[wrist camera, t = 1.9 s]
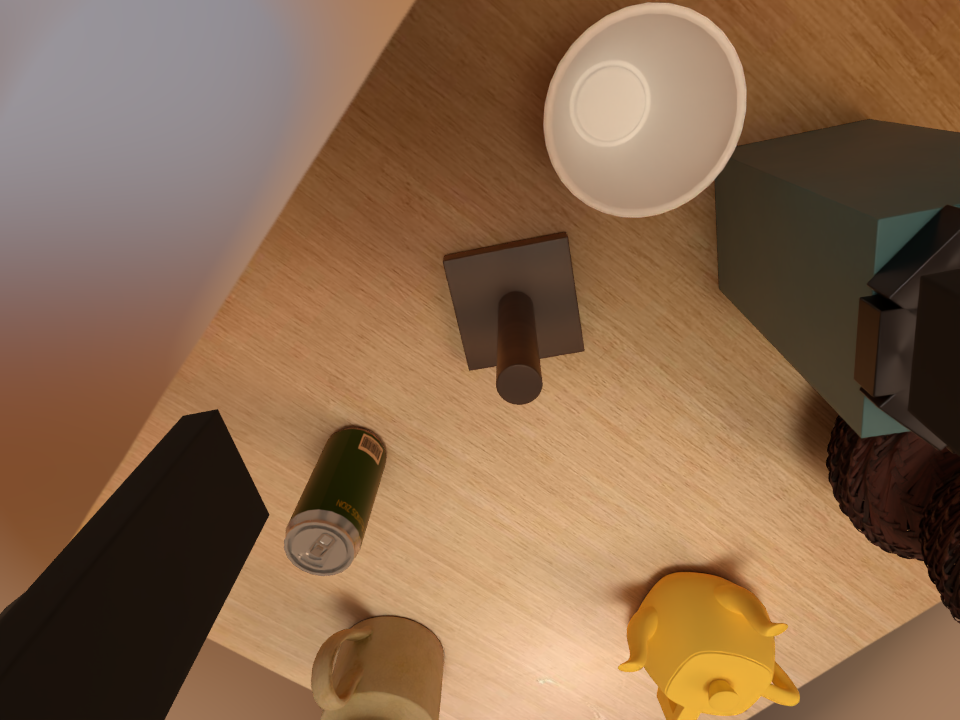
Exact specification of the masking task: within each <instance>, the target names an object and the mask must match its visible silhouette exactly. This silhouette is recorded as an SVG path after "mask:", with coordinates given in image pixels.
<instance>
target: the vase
mask: <svg viewBox="0 0 960 720" xmlns="http://www.w3.org/2000/svg"><path fill="white" fill-rule="evenodd" d="M838 417H839V418H838ZM838 417H837V418H838V419H837V418H836V421H835V426H834V427H833V429H832V432H831V440H830V442H829V444H828V448H827V452H828V451H829V452H828V457H827V460H826V466H827V468H828V467H829V468H828V470H829V482H830V484H831V485H832V488H833V494H834V497H835V499H836V500H837V501H838V502H839V503H840V504H839V507H840V509H841V511H842V512H843V513H844V514H845V515H846V516H848V517H849V519H850V521H851V522H852V523H853V525H854V527H855V528H856V529H857V528H858V529H860V530H861V531H860V532H861V533H863V534H865V537H866V538H867V539H868V540H869V541H870V542H871V543H872V544H874V545H876V546H879V547H880V548H881V549H882V550H884V551H886V552H888V553H894V554H897V555H898V556H899V557H902V558H906V559H917V560H920V561H924V563H925V565H926V567H927V568H928V574H929V577H930V579H931V581H932V582H933V583H934V584H936V588H937V590H938V591H939V593H940V594H941V596H940V597H941V600H942V602H943V604H944V605H945V606H946V607H947V606H948V607H947V608H948V609H949V610H950V612H951V614H952V616H953V618H954V617H956V618H958V619H960V456H958V455H957V454H954V453H952V452H951V451H950V450H948V449H947V448H946V447H945V448H944V449H943V450H941V451H939V450H937V449H935V448H934V447H933V446H931V445H930V444H928V443H927V442H926V441H924V440H923V439H921V438H920V437H919V436H917V435H916V434H914V433H913V432H911V431H908V432H901V433H894V434H887V435H880V436H873V437H866V438H861V437H860V436H859V435H858V434H857V433H856V432H855V431H854V430H853V429H852V428H851V427H850V426H849V425H848V424H847V423H846V421H845V420H844V419H843V418H842V417H841V416H840V415H839V416H838ZM886 436H888V437H887V438H886ZM888 444H889V445H888ZM886 445H888V446H886ZM885 446H886V447H885ZM858 529H857V530H858ZM907 530H908V531H907ZM858 531H859V530H858ZM889 551H890V552H889ZM909 557H911V558H909ZM927 565H928V566H927ZM934 581H935V582H934ZM954 619H955V618H954ZM955 620H956V619H955ZM956 621H957V620H956ZM957 622H958V623H960V621H957Z"/></svg>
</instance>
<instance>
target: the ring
mask: <svg viewBox="0 0 960 720" xmlns="http://www.w3.org/2000/svg"><path fill="white" fill-rule="evenodd" d="M955 269H960V208H958V207H955V206H952V205H948V204H947V205H945V206H944V207H943V208H942V209H941V210H940V211H939V212H938V213H937V214H936V215H935V216H934V217H933V218H932V219H931V220H930V221H929V222H928V223H927V224H926V225H925V226H924V227H923V228H922V229H921V230H920V231H919V232H918V233H917V234H916V235H915V236H914V237H913V238H912V239H911V240H910V241H909V242H908V243H907V244H906V245H905V246H904V247H903V248H902V249H901V250H900V251H899V252H898V253H897V254H896V255H895V256H894V257H893V258H892V259H891V260H890V261H889V262H888V263H887V264H886V265H885V266H884V267H883V268H882V269H881V270H880V271H879V272H878V273H877V274H876V275H875V276H874V277H873V278H872V279H871V280H870V281H869V282H868V283H867V286H868V287H870V288H871V289H872V290H873V291H875V292H876V293H877V295H871V296H865V297H860V298H859V309H858V323H857V337H856V352H855V366H854V380H855V381H856V382H857V383H858V384H859V385H860V386H861V387H860V388H859V390H860V392H861V393H862V394H864V395H865V396H866V397H867V398H868V399H869V400H870V401H871V402H872V403H873V404H874V405H875V406H877V407H878V408H879V409H880V410H882V411H883V412H885V413H886V414H887V415H889V416H890V417H892V418H893V419H894V420H896V421H897V422H899V423H900V424H902V425H903V426H904V427H906V428H907V429H909V430H910V431H911V432H913V433H914V434H916V435H917V436H919V437H920V438H921V439H923V440H924V441H926V442H927V443H928V444H930V445H931V446H933V447H934V448H935V449H937V450H939V451H941V450H943V449H944V448H945V447H946V448H947V449H948V450H950V451H951V452H952V453H954V454H956V453H955V452H954V451H953V450H952V449H950V448H949V447H948V446H947V445H946V444H945V443H944V442H942V441H941V440H940V439H939V438H938V437H937V436H936V435H934V434H933V433H932V432H931V431H930V430H929V429H928V428H926V427H925V426H924V425H923V424H922V423H921V422H920V421H918V420H917V419H916V418H915V417H914V416H913V415H912V414H910V413H909V412H908V400H909V390H910V380H911V370H912V359H913V349H914V339H915V329H916V318H917V308H918V298H919V288H920V277H921V276H923V275H929V274H934V273H939V272H944V271H950V270H955Z"/></svg>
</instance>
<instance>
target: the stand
mask: <svg viewBox="0 0 960 720" xmlns="http://www.w3.org/2000/svg"><path fill="white" fill-rule="evenodd" d="M715 201H716V226H717V252H718V278H719V290H720V291H721V292H722V293H723V294H724V295H725V296H726V297H727V298H728V299H729V300H730V301H731V302H732V303H733V304H734V305H735V306H736V307H737V308H738V309H739V310H740V312H741V313H742V314H743V315H744V316H745V317H746V318H747V319H748V320H749V321H750V322H751V323H752V324H753V325H754V326H755V327H756V328H757V329H758V330H759V331H760V332H761V333H762V335H763V336H764V337H765V338H766V339H767V340H768V341H769V342H770V343H771V344H772V345H773V346H774V347H775V348H776V349H777V350H778V351H779V352H780V353H781V354H782V355H783V357H784V358H785V359H786V360H787V361H788V362H789V363H790V364H791V365H792V366H793V367H794V368H795V369H796V370H797V371H798V372H799V373H800V374H801V375H802V376H803V377H804V379H805V380H806V381H807V382H808V383H809V384H810V385H811V386H812V387H813V388H814V389H815V390H816V391H817V392H818V393H819V394H820V395H821V396H822V397H823V398H824V399H825V401H826V402H827V403H828V404H829V405H830V406H831V407H832V408H833V409H834V410H835V411H836V412H837V413H838V414H839V415H840V416H841V417H842V418H843V419H844V420H845V421H846V423H847V424H848V425H849V426H850V427H851V428H852V429H853V430H854V431H855V432H856V433H857V434H858V435H859V436H860V437H861V438H866V437H873V436H880V435H887V434H894V433H901V432H908V431H910V430H909V429H907V428H906V427H904V426H903V425H902V424H900V423H899V422H897V421H896V420H894V419H893V418H892V417H890V416H889V415H887V414H886V413H885V412H883V411H882V410H880V409H879V408H878V407H877V406H875V405H874V404H873V403H872V402H871V401H870V400H869V399H868V398H867V397H866V396H865V395H864V394H862V393H861V392H860V390H859V388H860V387H861V386H860V385H859V384H858V383H857V382H856V381H855V380H854V366H855V352H856V337H857V323H858V309H859V298H860V297H865V296H871V295H877V293H876V292H875V291H873V290H872V289H871V288H870V287H868V286H867V283H868V282H869V281H870V280H871V279H872V278H873V277H874V276H875V275H876V274H877V273H878V272H879V271H880V270H881V269H882V268H883V267H884V266H885V265H886V264H887V263H888V262H889V261H890V260H891V259H892V258H893V257H894V256H895V255H896V254H897V253H898V252H899V251H900V250H901V249H902V248H903V247H904V246H905V245H906V244H907V243H908V242H909V241H910V240H911V239H912V238H913V237H914V236H915V235H916V234H917V233H918V232H919V231H920V230H921V229H922V228H923V227H924V226H925V225H926V224H927V223H928V222H929V221H930V220H931V219H932V218H933V217H934V216H935V215H936V214H937V213H938V212H939V211H940V210H941V209H942V208H943V207H944V206H945V205H947V204H948V205H952V206H955V207H958V208H960V133H959V132H952V131H945V130H939V129H932V128H925V127H919V126H912V125H905V124H899V123H892V122H885V121H879V120H872V119H868V120H863V121H858V122H853V123H848V124H843V125H839V126H834V127H829V128H824V129H819V130H814V131H809V132H804V133H800V134H795V135H790V136H785V137H780V138H775V139H770V140H765V141H760V142H756V143H751V144H746V145H741V146H736V148H735V150H734V152H733V154H732V155H731V157H730V159H729V160H728V162H727V164H726V165H725V167H724V169H723V170H722V171H721V172H720V174H719V175H718V176H717V177H716V178H715Z"/></svg>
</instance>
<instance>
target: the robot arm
mask: <svg viewBox="0 0 960 720" xmlns="http://www.w3.org/2000/svg"><path fill="white" fill-rule="evenodd" d="M908 412H909V413H910V414H912V415H913V416H914V417H915V418H916V419H917V420H918V421H920V422H921V423H922V424H923V425H924V426H925V427H926V428H928V429H929V430H930V431H931V432H932V433H933V434H934V435H936V436H937V437H938V438H939V439H940V440H941V441H942V442H944V443H945V444H946V445H947V446H948V447H949V448H950V449H952V450H953V451H954V452H955V453H956V454H957V455H958V456H960V269H955V270H950V271H944V272H939V273H934V274H929V275H923V276H921V277H920V288H919V298H918V308H917V318H916V329H915V339H914V349H913V359H912V370H911V380H910V390H909V400H908ZM268 516H269V513H268V511H267V509H266V507H265V505H264V503H263V501H262V499H261V497H260V495H259V493H258V490H257V488H256V486H255V484H254V482H253V480H252V478H251V476H250V474H249V472H248V470H247V468H246V466H245V464H244V462H243V460H242V458H241V456H240V454H239V452H238V450H237V448H236V446H235V443H234V441H233V439H232V437H231V435H230V433H229V431H228V429H227V427H226V425H225V423H224V421H223V419H222V417H221V415H220V413H219V411H218V409H217V410H211V411H206V412H201V413H196V414H190V415H185V416H182V417H181V419H180V420H179V421H178V422H177V423H176V424H175V425H174V426H173V428H172V429H171V430H170V431H169V432H168V433H167V434H166V435H165V436H164V438H163V439H162V440H161V441H160V442H159V443H158V444H157V445H156V447H155V448H154V449H153V450H152V451H151V452H150V453H149V454H148V455H147V457H146V458H145V459H144V460H143V461H142V462H141V463H140V464H139V466H138V467H137V468H136V469H135V470H134V471H133V472H132V473H131V475H130V476H129V477H128V478H127V479H126V480H125V481H124V482H123V483H122V485H121V486H120V487H119V488H118V489H117V490H116V491H115V492H114V494H113V495H112V496H111V497H110V498H109V499H108V500H107V501H106V502H105V504H104V505H103V506H102V507H101V508H100V509H99V510H98V511H97V513H96V514H95V515H94V516H93V517H92V518H91V519H90V520H89V521H88V523H87V524H86V525H85V526H84V527H83V528H82V529H81V530H80V532H79V533H78V534H77V535H76V536H75V537H74V538H73V539H72V540H71V542H70V543H69V544H68V545H67V546H66V547H65V548H64V549H63V551H62V552H61V553H60V554H59V555H58V556H57V557H56V558H55V559H54V561H53V562H52V563H51V564H50V565H49V566H48V567H47V568H46V570H45V571H44V572H43V573H42V574H41V575H40V576H39V577H38V578H37V580H36V581H35V582H34V583H33V584H32V585H31V586H30V587H29V589H28V590H27V591H26V592H25V593H24V594H22V595H21V596H20V597H18V598H17V599H16V600H15V601H14V602H12V603H11V604H10V605H8V607H6V608H5V609H4V610H3V612H2V613H1V614H0V720H165V718H166V716H167V714H168V712H169V710H170V708H171V706H172V704H173V702H174V700H175V698H176V696H177V694H178V692H179V690H180V688H181V686H182V684H183V682H184V681H185V679H186V677H187V675H188V673H189V671H190V669H191V667H192V665H193V663H194V661H195V659H196V657H197V655H198V653H199V651H200V649H201V647H202V645H203V643H204V641H205V640H206V638H207V636H208V634H209V632H210V630H211V628H212V626H213V624H214V622H215V620H216V618H217V616H218V614H219V612H220V610H221V608H222V606H223V604H224V602H225V600H226V599H227V597H228V595H229V593H230V591H231V589H232V587H233V585H234V583H235V581H236V579H237V577H238V575H239V573H240V571H241V569H242V567H243V565H244V563H245V561H246V559H247V558H248V556H249V554H250V552H251V550H252V548H253V546H254V544H255V542H256V540H257V538H258V536H259V534H260V532H261V530H262V528H263V526H264V524H265V522H266V520H267V518H268Z"/></svg>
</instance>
